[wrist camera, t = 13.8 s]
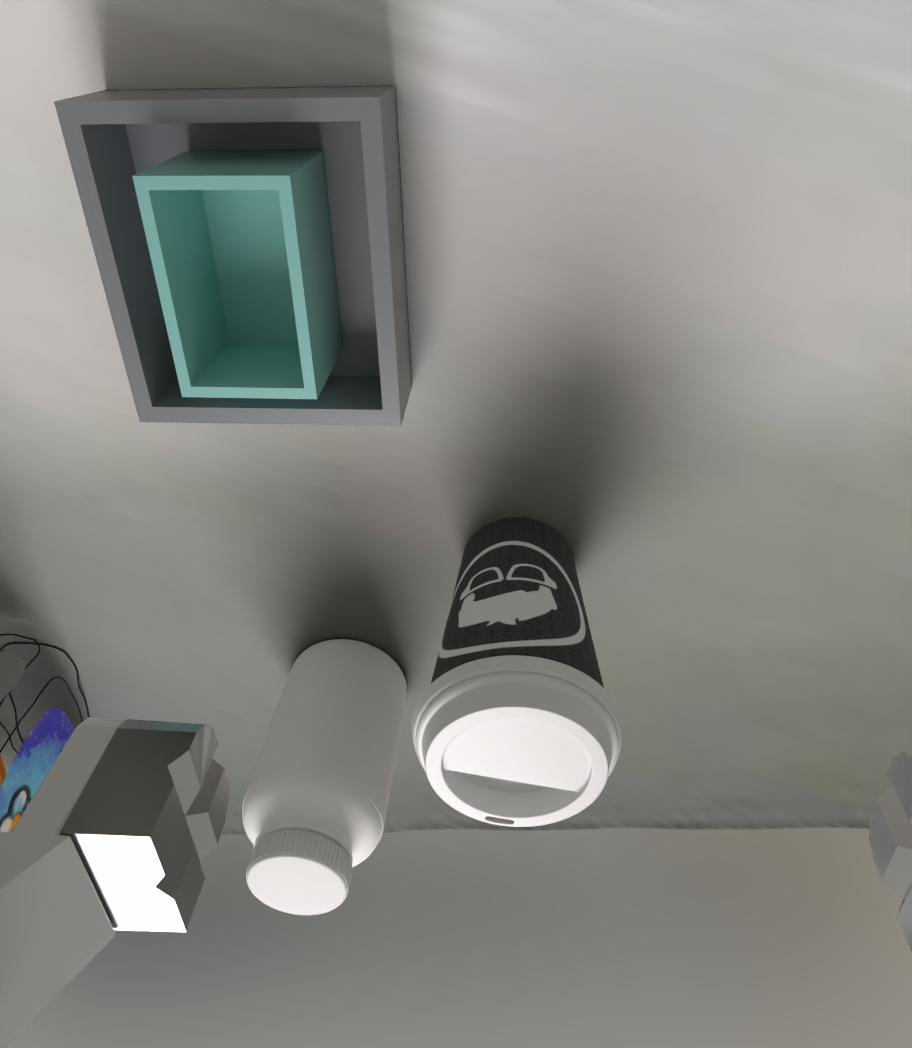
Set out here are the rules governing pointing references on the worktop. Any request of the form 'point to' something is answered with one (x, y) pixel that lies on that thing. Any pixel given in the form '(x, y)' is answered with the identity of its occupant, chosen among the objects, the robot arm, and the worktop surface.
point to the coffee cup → (517, 686)
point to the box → (29, 743)
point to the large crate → (356, 222)
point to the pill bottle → (324, 775)
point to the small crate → (244, 270)
